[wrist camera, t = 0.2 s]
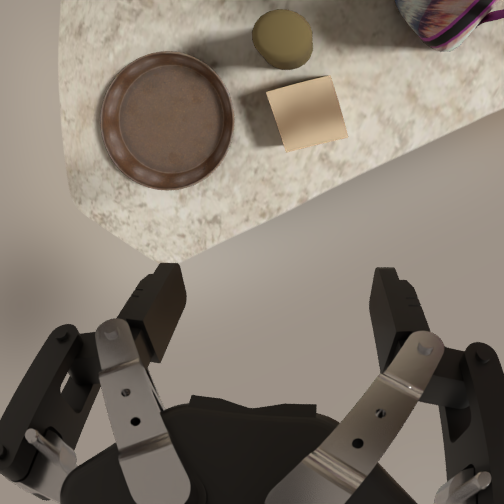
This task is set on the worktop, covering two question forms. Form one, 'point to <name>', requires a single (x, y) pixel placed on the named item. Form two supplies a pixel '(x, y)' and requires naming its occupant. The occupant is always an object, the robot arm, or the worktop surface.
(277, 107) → the oak base block
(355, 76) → the worktop surface
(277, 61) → the olive green pawn
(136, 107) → the plant saucer
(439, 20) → the handbag
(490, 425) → the robot arm
